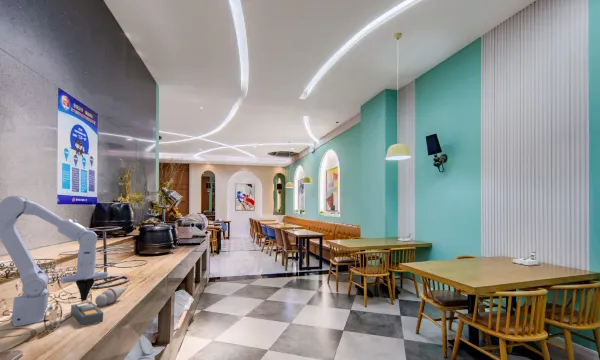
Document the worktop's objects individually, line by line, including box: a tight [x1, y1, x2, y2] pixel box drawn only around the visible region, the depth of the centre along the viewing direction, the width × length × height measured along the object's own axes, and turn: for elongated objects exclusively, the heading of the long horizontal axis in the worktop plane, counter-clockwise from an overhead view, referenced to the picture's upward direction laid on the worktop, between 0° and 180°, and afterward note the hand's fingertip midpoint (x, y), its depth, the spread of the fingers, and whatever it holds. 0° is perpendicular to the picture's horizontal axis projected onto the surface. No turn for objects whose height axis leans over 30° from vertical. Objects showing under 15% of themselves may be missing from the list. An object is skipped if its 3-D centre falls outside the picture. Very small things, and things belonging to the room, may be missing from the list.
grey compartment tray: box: [70, 301, 104, 327], centre depth 118 cm, size 6×16×3 cm, turn 45°
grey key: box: [80, 304, 94, 311], centre depth 118 cm, size 4×4×1 cm
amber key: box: [83, 310, 98, 315], centre depth 114 cm, size 4×4×1 cm
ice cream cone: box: [94, 286, 129, 307], centre depth 135 cm, size 6×6×15 cm
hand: (83, 300), depth 121 cm, fingers closed
